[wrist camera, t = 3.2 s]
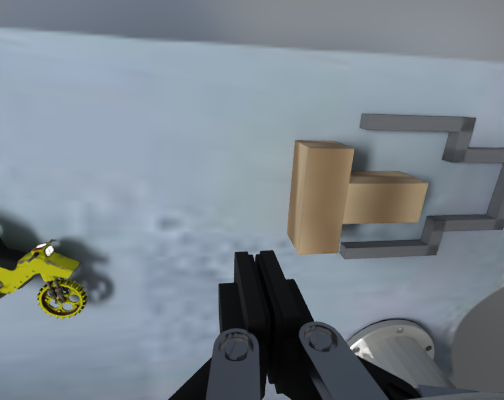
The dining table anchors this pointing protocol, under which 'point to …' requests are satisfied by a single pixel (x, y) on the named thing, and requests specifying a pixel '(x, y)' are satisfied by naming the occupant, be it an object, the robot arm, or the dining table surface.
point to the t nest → (456, 150)
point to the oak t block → (343, 196)
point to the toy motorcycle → (50, 267)
